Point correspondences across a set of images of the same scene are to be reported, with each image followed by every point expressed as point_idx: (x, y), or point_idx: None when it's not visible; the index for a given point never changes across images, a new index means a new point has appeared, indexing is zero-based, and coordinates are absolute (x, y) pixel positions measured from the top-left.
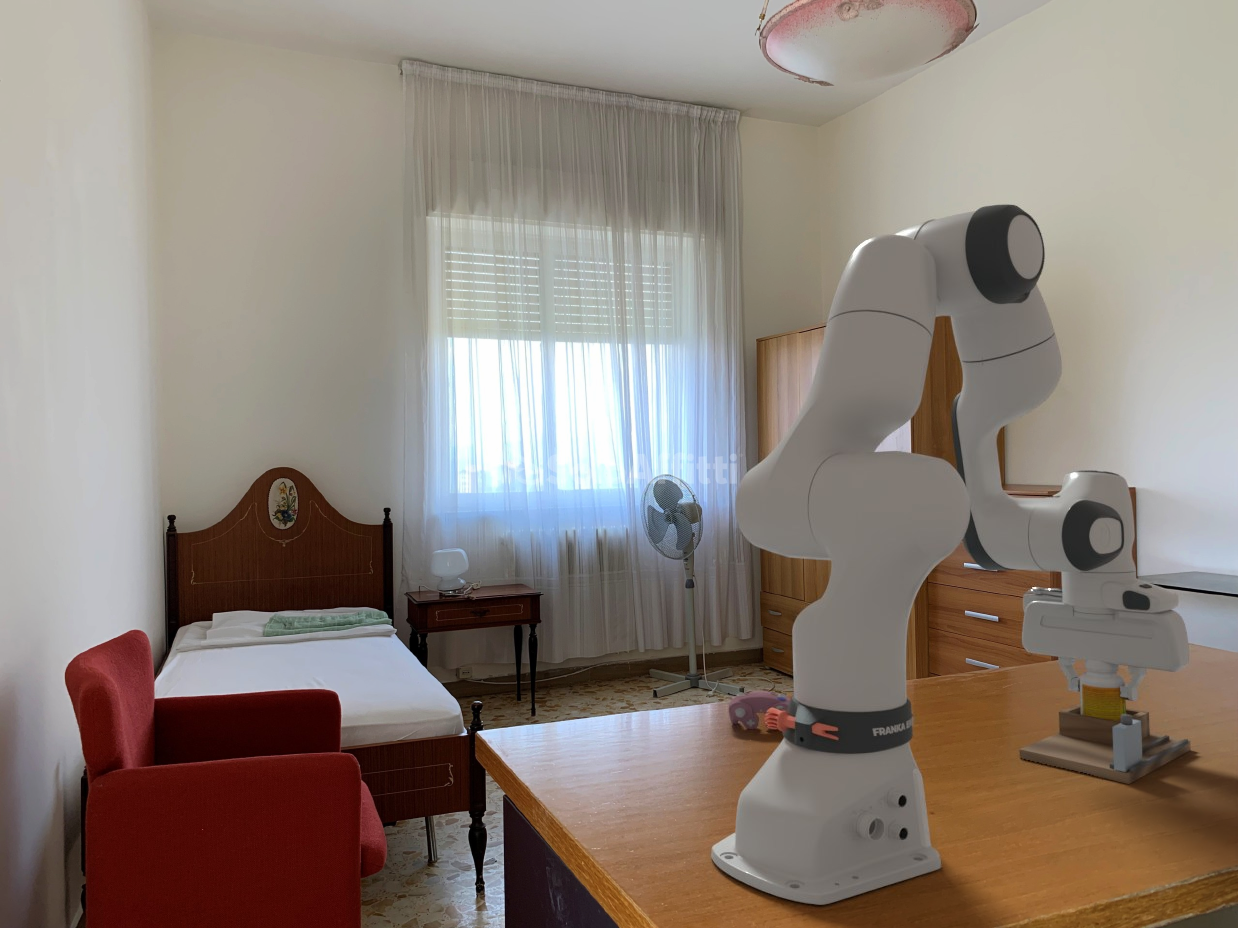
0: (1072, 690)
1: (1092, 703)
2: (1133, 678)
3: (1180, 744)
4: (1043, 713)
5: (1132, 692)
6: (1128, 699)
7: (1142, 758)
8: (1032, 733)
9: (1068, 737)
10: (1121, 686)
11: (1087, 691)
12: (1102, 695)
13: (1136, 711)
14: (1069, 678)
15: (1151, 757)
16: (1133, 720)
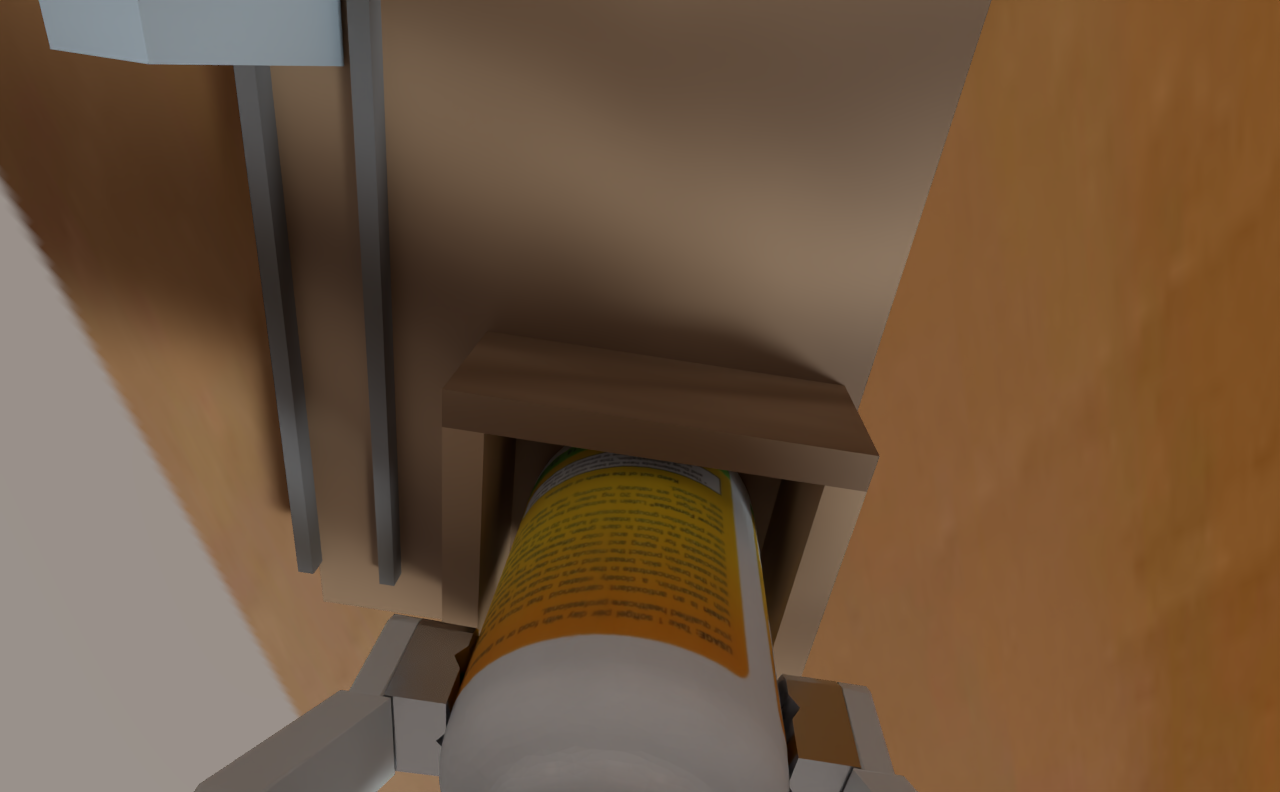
0: (834, 682)
1: (658, 537)
2: (283, 762)
3: (291, 489)
4: (982, 763)
5: (367, 660)
6: (423, 619)
7: (332, 171)
8: (995, 460)
9: (787, 353)
10: (433, 698)
11: (694, 610)
12: (575, 586)
13: None
14: (876, 766)
15: (254, 135)
16: (97, 14)
